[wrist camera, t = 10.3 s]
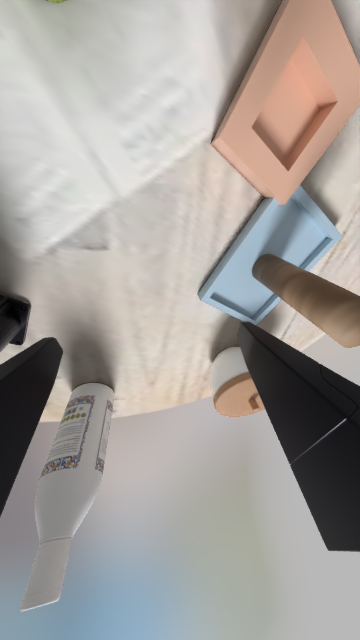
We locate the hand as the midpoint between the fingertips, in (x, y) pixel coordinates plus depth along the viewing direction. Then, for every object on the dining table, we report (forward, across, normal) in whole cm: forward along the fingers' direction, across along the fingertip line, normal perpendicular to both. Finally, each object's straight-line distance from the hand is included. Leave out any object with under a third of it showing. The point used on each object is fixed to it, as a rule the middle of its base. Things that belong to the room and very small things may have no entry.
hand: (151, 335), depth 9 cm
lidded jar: (+14, -11, +19) cm, 26 cm away
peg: (+13, -13, +2) cm, 18 cm away
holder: (+14, -11, -10) cm, 20 cm away
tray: (+14, -13, +2) cm, 19 cm away
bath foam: (+12, +14, +23) cm, 29 cm away
